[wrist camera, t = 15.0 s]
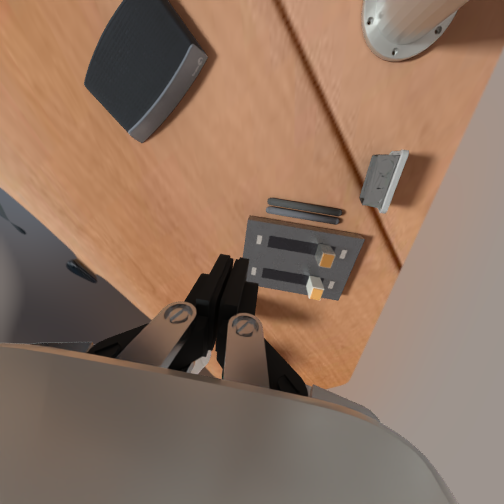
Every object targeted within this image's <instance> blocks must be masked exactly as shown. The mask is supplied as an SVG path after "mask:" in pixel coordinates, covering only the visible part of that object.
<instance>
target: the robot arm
mask: <svg viewBox="0 0 504 504" xmlns="http://www.w3.org/2000/svg"><path fill="white" fill-rule="evenodd" d="M468 1H469V0H364V1H363V7H362V30H363V35H364V38H365V41H366V43H367V45H368V47H369V48H370V50H371V51H372V52H373V53H374V54H375V55H376V56H377V57H379V58H381V59H383V60H387V61H402V60H406V59H409V58H411V57H414V56H416V55H418V54H419V53H421V52H422V51H424V50H425V49H427V48H428V47H429V46H430V45H432V44H433V43H434V42H435V41H436V40H437V39H438V38H439V37H440V36H441V35H442V34H443V33H444V31H445V30H446V29H447V27H448V26H449V25H450V23H451V22H452V20H453V18H454V16H455V15H456V13H457V11H458V9H459V8H460V7H462V6H463V5H464V4H465V3H467V2H468ZM367 23H369V25H368V24H367ZM392 52H393V53H394V55H392ZM248 266H249V259H247V258H241V257H240V259H239V260H238V259H236V261H235V263H234V266H233V259H232V258H230V255H224V254H220V256H219V258H218V259H217V261H216V263H215V265H214V267H213V269H212V270H211V272H210V274H204V273H202V274H201V275H200V277H199V278H198V280H197V282H196V283H195V285H194V286H193V288H192V290H191V291H190V293H189V295H188V296H187V298H186V300H185V301H184V302H174V303H171V304H169V305H167V306H166V307H165V308H163V309H162V310H161V311H160V312H159V314H158V315H157V316H156V317H155V318H154V319H153V320H152V321H151V322H150V323H148V324H145V325H142V326H140V327H137V328H134V329H132V330H129V331H126V332H124V333H121V334H118V335H116V336H113V337H110V338H107V339H105V340H103V341H101V342H99V343H97V344H96V345H93V342H63V343H35V344H17V343H16V344H15V343H0V504H459V503H458V502H457V501H456V498H455V497H454V495H453V493H452V492H451V490H450V489H449V487H448V486H447V484H446V483H445V481H444V480H443V478H442V477H441V475H440V474H439V473H438V471H437V470H436V469H435V467H434V466H433V465H432V464H431V463H430V461H429V460H428V459H427V458H426V456H425V455H423V453H421V452H420V451H419V450H418V449H417V448H416V447H415V446H414V445H413V444H411V443H410V442H409V441H408V440H406V439H405V438H404V437H402V436H401V435H400V434H398V433H397V432H395V431H394V430H392V429H390V428H389V427H387V426H385V425H383V424H382V423H381V422H380V421H379V419H378V418H377V417H376V416H375V415H374V414H373V413H372V412H371V411H370V410H369V409H367V408H365V407H364V406H362V405H360V404H357V403H355V402H352V401H350V400H348V399H346V398H343V397H341V396H339V395H336V394H334V393H332V392H329V391H327V390H325V389H323V388H320V387H318V386H316V385H313V386H312V387H311V386H308V385H306V384H305V383H304V381H303V380H302V378H301V377H300V376H299V375H298V374H297V373H296V372H295V371H294V370H293V368H292V367H291V366H290V365H289V364H288V363H287V362H286V361H285V360H284V359H283V358H282V357H281V356H280V355H279V353H278V352H277V351H276V350H275V349H274V348H273V347H272V346H271V345H270V344H269V343H268V342H267V341H266V340H265V338H264V335H263V327H262V323H261V322H260V320H259V319H258V318H257V317H255V309H256V301H257V293H258V285H259V283H254V282H248V281H246V279H247V272H248ZM232 268H233V269H232ZM216 338H217V339H216ZM215 341H216V350H215V351H216V352H217V361H218V362H219V364H220V366H221V367H222V369H223V370H222V379H218V378H213V377H208V376H202V375H197V374H192V373H191V371H192V369H193V367H194V365H195V361H196V360H198V359H199V358H201V357H206V356H207V353H208V350H211V351H212V350H213V347H214V344H215Z"/></svg>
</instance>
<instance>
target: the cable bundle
mask: <svg viewBox="0 0 504 504" xmlns="http://www.w3.org/2000/svg"><path fill="white" fill-rule="evenodd" d="M267 202H268V204H269V205H274V206H280V207H286V208H292V209H298V210H304V211H310V212H316V213H322V214H328V215H334V216H340V215H342V211H341V210H340V209H335V208H329V207H323V206H317V205H311V204H305V203H299V202H293V201H286V200H280V199H274V198H269V199H268V201H267ZM266 212H267V213H270V214H276V215H282V216H288V217H294V218H300V219H305V220H311V221H317V222H323V223H329V224H338V223H339V219H338V218H335V217H329V216H323V215H317V214H311V213H305V212H299V211H293V210H287V209H281V208H275V207H267V208H266Z"/></svg>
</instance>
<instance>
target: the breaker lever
mask: <svg viewBox="0 0 504 504" xmlns="http://www.w3.org/2000/svg"><path fill="white" fill-rule="evenodd" d="M306 288H307V292H308V297H309V298H310V299H315V300H320V299H321V296H322V294H323V291H324V287H323V284H322V281H321V279H320V277H314V276H309V279H308V282H307V285H306Z"/></svg>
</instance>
